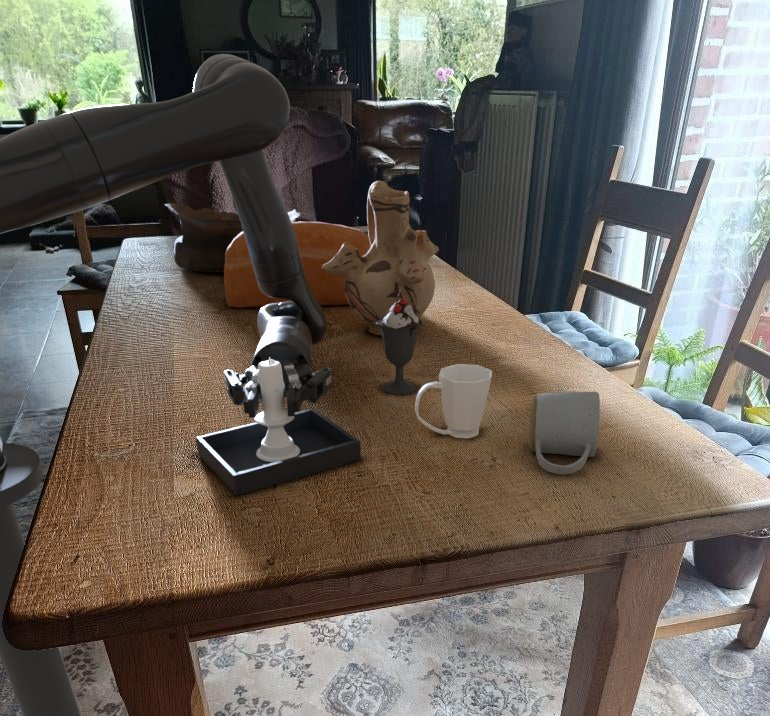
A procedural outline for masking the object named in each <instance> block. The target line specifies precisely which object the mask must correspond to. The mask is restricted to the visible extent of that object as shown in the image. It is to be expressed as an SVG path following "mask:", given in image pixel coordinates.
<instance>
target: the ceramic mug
mask: <svg viewBox="0 0 770 716" xmlns="http://www.w3.org/2000/svg"><path fill="white" fill-rule="evenodd" d="M600 399H601V397H600V393H599V392H598V391H577V392H576V391H575V392H574V391H573V392H568V391H567V392H542V393H538V394H534V395H533V396H532V397H530V404H529V423H528V440H527V441H528V442H527V448H529V449H530V450H531V451H533V452H535V456H536V459H537V462H538V464H539V466H540V467H541V468H542V469H543V470H545V471H547V472H549V473H551V474H554V475H561V476H562V475H563V476H565V475H571V474H575V473H576V472H578V471H580V470H581V469H582V468H583V467H584V465H585V464H586V462H587V460H588V458H593V457H595V455H596V453H597V447H598V443H599V432H600V423H601V422H600V421H601V420H600V417H601V400H600ZM543 454H551V455H553V454H554V455H562V456H563V455H564V456H574V457H576V456H577V457H580V458H579V459H577V460H576V461H574V462H573V463H570V464H567V465H563V464H555V463H552V462H550V461H549V460H547V459H546V458H545V457H544V455H543Z"/></svg>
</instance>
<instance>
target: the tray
mask: <svg viewBox="0 0 770 716" xmlns="http://www.w3.org/2000/svg"><path fill="white" fill-rule="evenodd" d="M294 416H295V417H294V419H293V420H292V421H291V422H289V423H287V424H285V425H284V426H283V428H284V430H285V431H286V433H287V435H288V436H289V437H291V438H292V440H293V442H294V444H295V445H296V446H298V447H299V449H300V453H299V455H298V456H296V457H292V458H289V459H285V460H282V461H278V462H266V461H263V460H261V459H259V458H258V457H257V456H256V452H257V450H258V449H259V448H260V447H261V442H262V440H263V439H264V438H265V437H266V434H267V431H268V427H267V426H264V425H261V424H259V423H257V422H256V421H255V422H252V423H248V424H243V425H240V426H235V427H231V428H227V429H224V430H219V431H214V432H211V433H206V434H202V435H199V436H196V437H195V442H196V447H197V448H196V449H197V453H198V456H199V457H200V459H202V461H203V462H204V463H205V464H206V465H207V466H208V467H209V468H210V469H211V470H212V471H213V472H214V474H216V476H217V477H219V479H220V480H221V481H222V482H223V484H225V485H226V486H227V487H228V489H229V490H230V491H231V492H232V493H233V494H234V495H235V496H236V497H237V496H240V495H243V494H247V493H251V492H254V491H258V490H262V489H265V488H268V487H272V486H275V485H279V484H282V483H284V482H285V483H286V482H289V481H291V480H295V479H299V478H302V477H305V476H309V475H312V474H315V473H319V472H322V471H326V470H330V469H333V468H336V467H340V466H344V465H346V464H351V463H353V462H357V461H360V460H362V451H361V440H360V439H359V438H357V437H355V436H354V435H352V434H351V433H350V432H348V431H347V430H345V429H344V428H342V427H341V426H340V425H338V424H337V423H335V422H334V421H333V420H331V419H330V418H328V417H327V416H325V415H324V414H323V413H321V412H320V411H318V410H317V409H315V408H308V409H306V410H300V411H299V412H295V415H294Z"/></svg>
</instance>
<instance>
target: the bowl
mask: <svg viewBox="0 0 770 716" xmlns="http://www.w3.org/2000/svg"><path fill="white" fill-rule="evenodd" d="M164 206H165V207H167V209H168V210H169V211H170V212H172V213H175V214H176V215H177V216H178V219H179V223H180V234H182V235H180V236H177V237H176V239H175V240H174V252H173V257H174V262H175V264H176V265H177V266H178V267H179V268H180V269H185V270H188V271H191V272H203V273H224V265H225V253H226V250H227V248H228V246H229V245H230V244H231V242H232V241H233V239H234V238H235V237H236V236H238V235H239V234H240V233H241V232H243V228H242V225H241V222H240V218H239V215H238V213H236V212H234V211H232V212H231V211H230V212H227V211H225V210H224V211H220V212H219V211H218V212H216V211H215V210H214V209H213V208H212V209H211V208H208V207H203V208H199V209H196V210H194V209H193V208H192V207H190V206H189V205H182V204H177V203H174V202H168V203H164ZM287 213H288V215H289V218H290V220H291V222H295V221H296V219H297V218H298V217H299V216H301V213H300V211H299V212H297V210H296V208H295V209H293V210H291V211H287Z"/></svg>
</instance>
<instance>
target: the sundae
mask: <svg viewBox="0 0 770 716" xmlns="http://www.w3.org/2000/svg"><path fill="white" fill-rule="evenodd" d="M398 293H399V294H398V296H400V293H401V290H400V291H399V292H398ZM398 296H397V299H396V303H394V304H393V305H392V307H391V308H390V310H389V313H388V314H387V315H386V316H385V317H382V318H381V319H379V320H378V321H377V322H376V324H377V325H379V326H380V328H381V331H382V336H381V337H382V342H383V350H384V354H385V359H386V360H387V361H388V362H389V363H390V364H391V365H393V366H394V368H395V375H394V379H393V381H391V382H387V383H385V384H384V385H383V387H382V389H383V391H384V392H385V393H388V394H391V395H407V394H411V393H413V392H415V390H416V389H417V387H416V385H415V384H413V383H412V382H409V381H408V382H407V381H406V380H405V375H404V368H405V367H406V366H407V365H409V363H410V362H411V361H412V360H413V358H414V354H415V348H416V342H417V341H416V340H417V335H418V331H419V329H420V328H421V327H422V326H423V325H424V322H423V320H422V318H421V317H417V315H415V314H414V311H415V309H414V308H412V307H411V306H410V305H409V304H408V303H407V301H406V299H402V298H401V296H400V298H401V299H400V300H399V302H397V300H398Z"/></svg>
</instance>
